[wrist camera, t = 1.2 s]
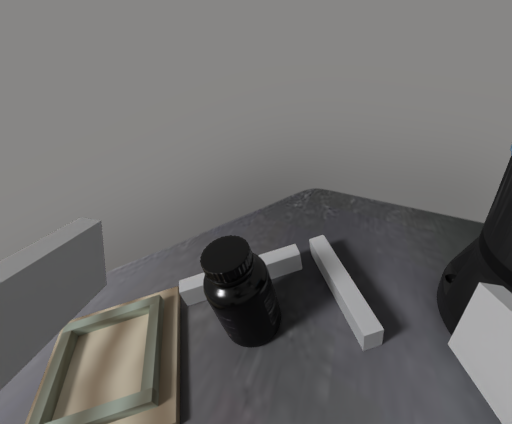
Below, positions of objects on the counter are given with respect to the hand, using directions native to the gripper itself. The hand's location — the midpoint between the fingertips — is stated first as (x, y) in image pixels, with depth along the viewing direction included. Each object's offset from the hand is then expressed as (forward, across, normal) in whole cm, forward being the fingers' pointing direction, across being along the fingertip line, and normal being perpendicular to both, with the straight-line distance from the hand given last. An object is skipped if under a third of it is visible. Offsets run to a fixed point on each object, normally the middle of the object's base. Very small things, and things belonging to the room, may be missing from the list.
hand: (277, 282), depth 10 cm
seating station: (+13, -16, -24) cm, 32 cm away
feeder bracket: (+18, +1, -17) cm, 25 cm away
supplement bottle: (+18, 0, -18) cm, 25 cm away
